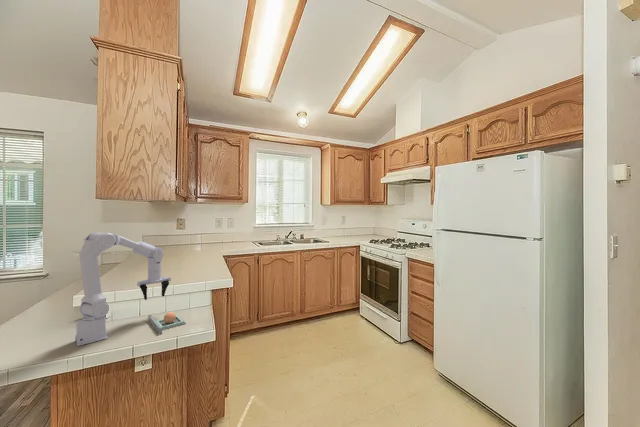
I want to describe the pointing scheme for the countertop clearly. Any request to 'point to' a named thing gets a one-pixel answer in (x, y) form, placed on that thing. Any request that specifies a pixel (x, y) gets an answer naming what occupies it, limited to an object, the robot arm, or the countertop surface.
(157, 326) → the acrylic wall
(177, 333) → the countertop surface
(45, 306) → the countertop surface
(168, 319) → the ball
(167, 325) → the pad
